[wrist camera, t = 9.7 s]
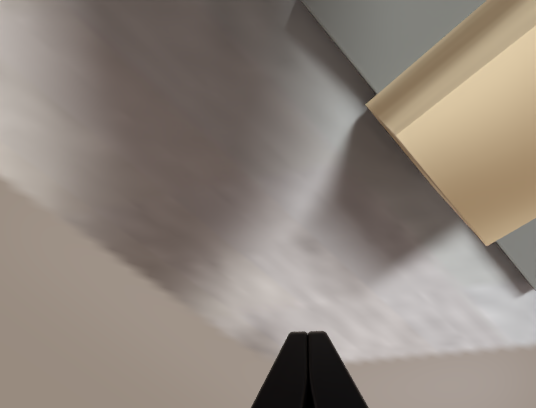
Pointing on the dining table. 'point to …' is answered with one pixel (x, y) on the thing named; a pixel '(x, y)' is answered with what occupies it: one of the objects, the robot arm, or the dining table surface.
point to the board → (407, 63)
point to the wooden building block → (473, 117)
